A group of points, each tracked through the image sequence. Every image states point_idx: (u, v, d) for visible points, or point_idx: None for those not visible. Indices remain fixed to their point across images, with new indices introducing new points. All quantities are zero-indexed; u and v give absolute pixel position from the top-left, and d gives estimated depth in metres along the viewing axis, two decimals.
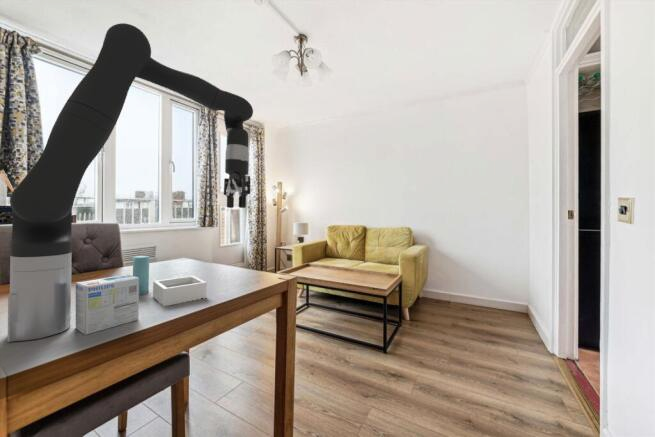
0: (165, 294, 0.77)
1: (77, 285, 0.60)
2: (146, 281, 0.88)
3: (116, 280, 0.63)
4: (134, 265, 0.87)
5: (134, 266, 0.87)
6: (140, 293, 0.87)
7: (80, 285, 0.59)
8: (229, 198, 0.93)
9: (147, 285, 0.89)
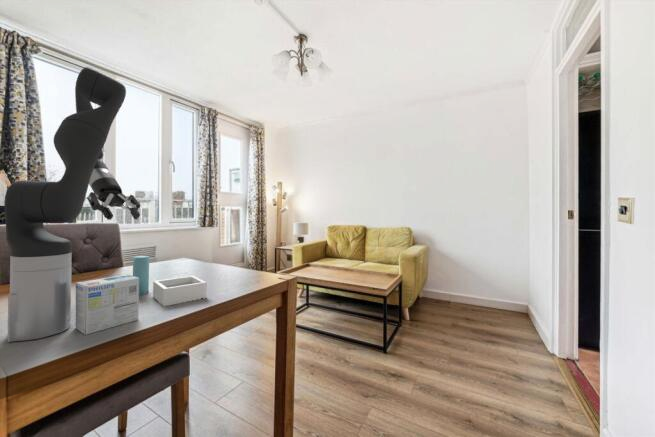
0: (165, 294, 0.77)
1: (77, 285, 0.60)
2: (146, 281, 0.88)
3: (116, 280, 0.63)
4: (134, 265, 0.87)
5: (134, 266, 0.87)
6: (140, 293, 0.87)
7: (80, 285, 0.59)
8: None
9: (147, 285, 0.89)
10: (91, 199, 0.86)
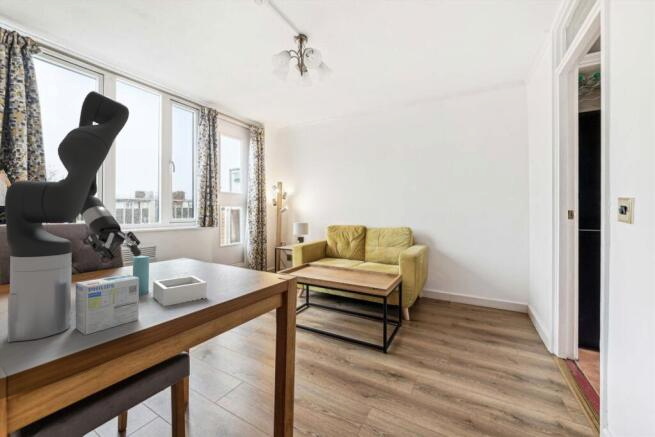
0: (165, 294, 0.77)
1: (77, 285, 0.60)
2: (146, 281, 0.88)
3: (116, 280, 0.63)
4: (134, 265, 0.87)
5: (134, 266, 0.87)
6: (140, 293, 0.87)
7: (80, 285, 0.59)
8: None
9: (147, 285, 0.89)
10: (92, 241, 0.84)
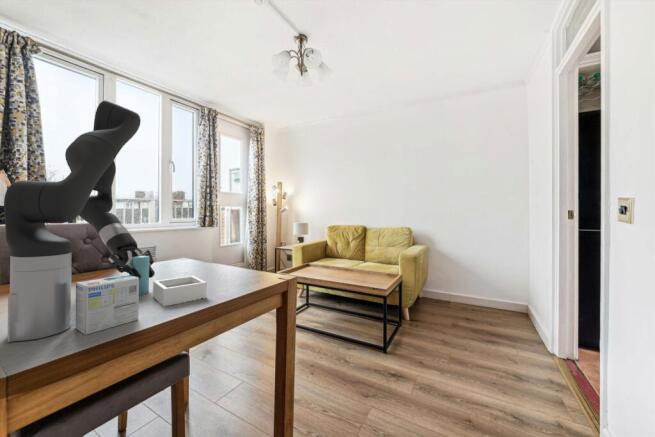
0: (165, 294, 0.77)
1: (77, 285, 0.60)
2: (146, 281, 0.88)
3: (116, 280, 0.63)
4: (134, 265, 0.87)
5: (134, 266, 0.87)
6: (140, 293, 0.87)
7: (80, 285, 0.59)
8: None
9: (147, 285, 0.89)
10: (115, 262, 0.83)
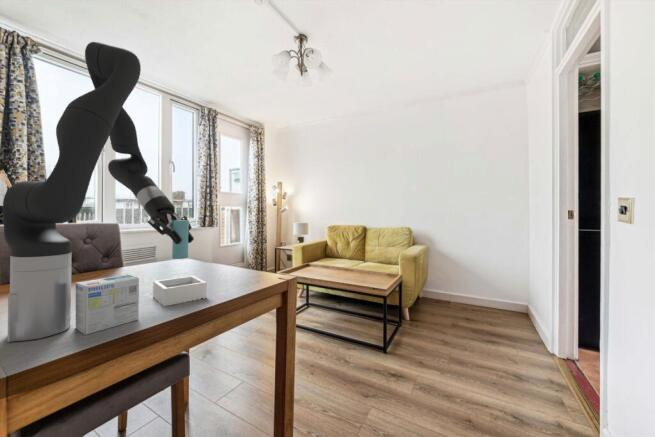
0: (165, 294, 0.77)
1: (77, 285, 0.60)
2: (186, 245, 0.85)
3: (116, 280, 0.63)
4: (174, 228, 0.83)
5: (174, 229, 0.83)
6: (180, 257, 0.83)
7: (80, 285, 0.59)
8: None
9: (187, 250, 0.85)
10: (156, 224, 0.80)
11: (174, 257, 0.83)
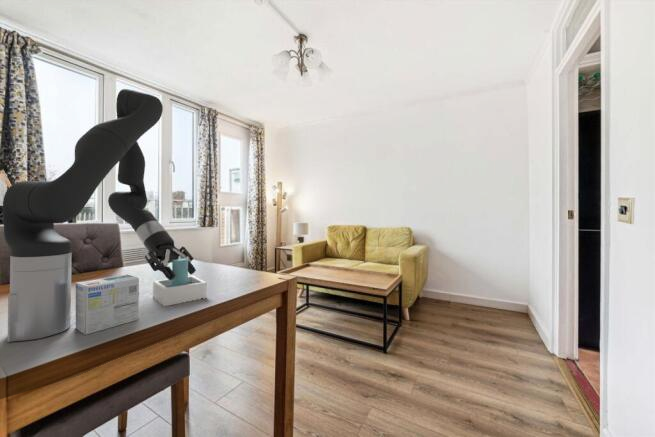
0: (165, 294, 0.77)
1: (77, 285, 0.60)
2: None
3: (116, 280, 0.63)
4: (174, 268, 0.83)
5: (173, 269, 0.83)
6: None
7: (80, 285, 0.59)
8: None
9: None
10: (151, 259, 0.79)
11: None
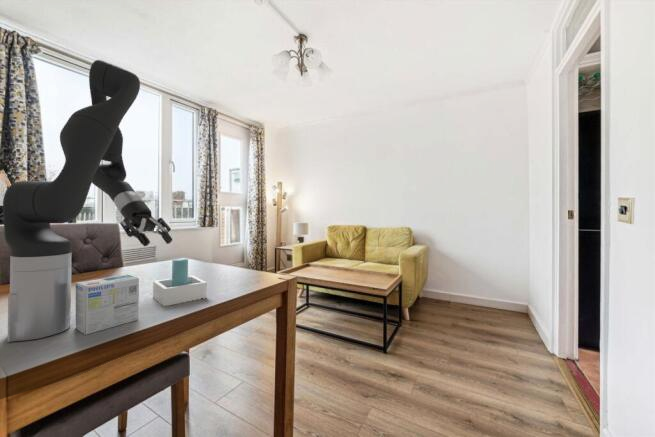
0: (165, 294, 0.77)
1: (77, 285, 0.60)
2: None
3: (116, 280, 0.63)
4: (174, 268, 0.83)
5: (173, 269, 0.83)
6: None
7: (80, 285, 0.59)
8: None
9: None
10: (126, 225, 0.82)
11: None
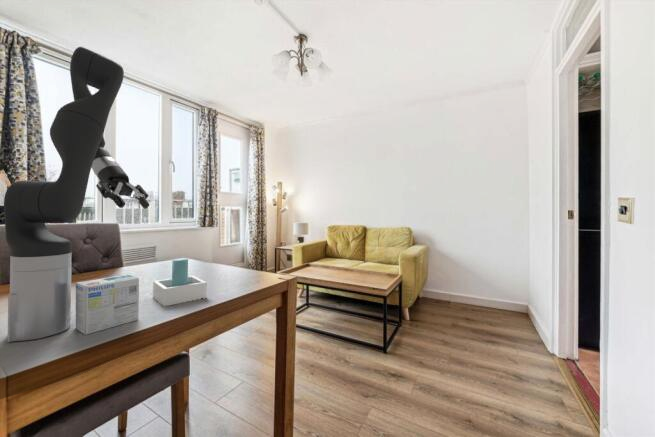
0: (165, 294, 0.77)
1: (77, 285, 0.60)
2: None
3: (116, 280, 0.63)
4: (174, 268, 0.83)
5: (173, 269, 0.83)
6: None
7: (80, 285, 0.59)
8: None
9: None
10: (101, 187, 0.84)
11: None
